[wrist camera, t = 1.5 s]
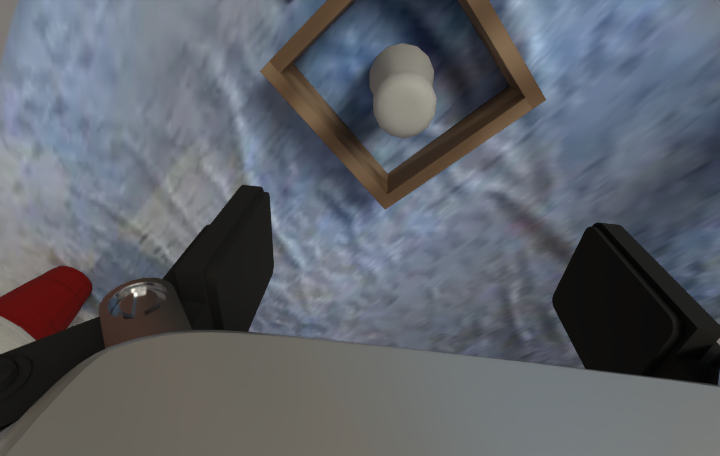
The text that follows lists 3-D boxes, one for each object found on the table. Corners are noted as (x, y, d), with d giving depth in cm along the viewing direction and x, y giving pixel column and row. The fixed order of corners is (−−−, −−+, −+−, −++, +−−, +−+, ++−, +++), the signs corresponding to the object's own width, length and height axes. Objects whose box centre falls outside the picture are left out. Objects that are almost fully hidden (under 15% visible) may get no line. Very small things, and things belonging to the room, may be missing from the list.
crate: (527, 86, 35) (546, 99, 30) (385, 187, 41) (385, 209, 37) (422, -91, 28) (427, -106, 24) (275, 62, 35) (259, 71, 31)
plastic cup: (20, 245, 50) (-74, 308, 40) (98, 257, 50) (25, 323, 40) (46, 302, 56) (-31, 369, 46) (116, 312, 56) (56, 382, 46)
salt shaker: (412, 115, 37) (421, 166, 26) (360, 90, 36) (346, 131, 25) (443, 57, 34) (467, 87, 23) (387, 28, 33) (385, 45, 22)
